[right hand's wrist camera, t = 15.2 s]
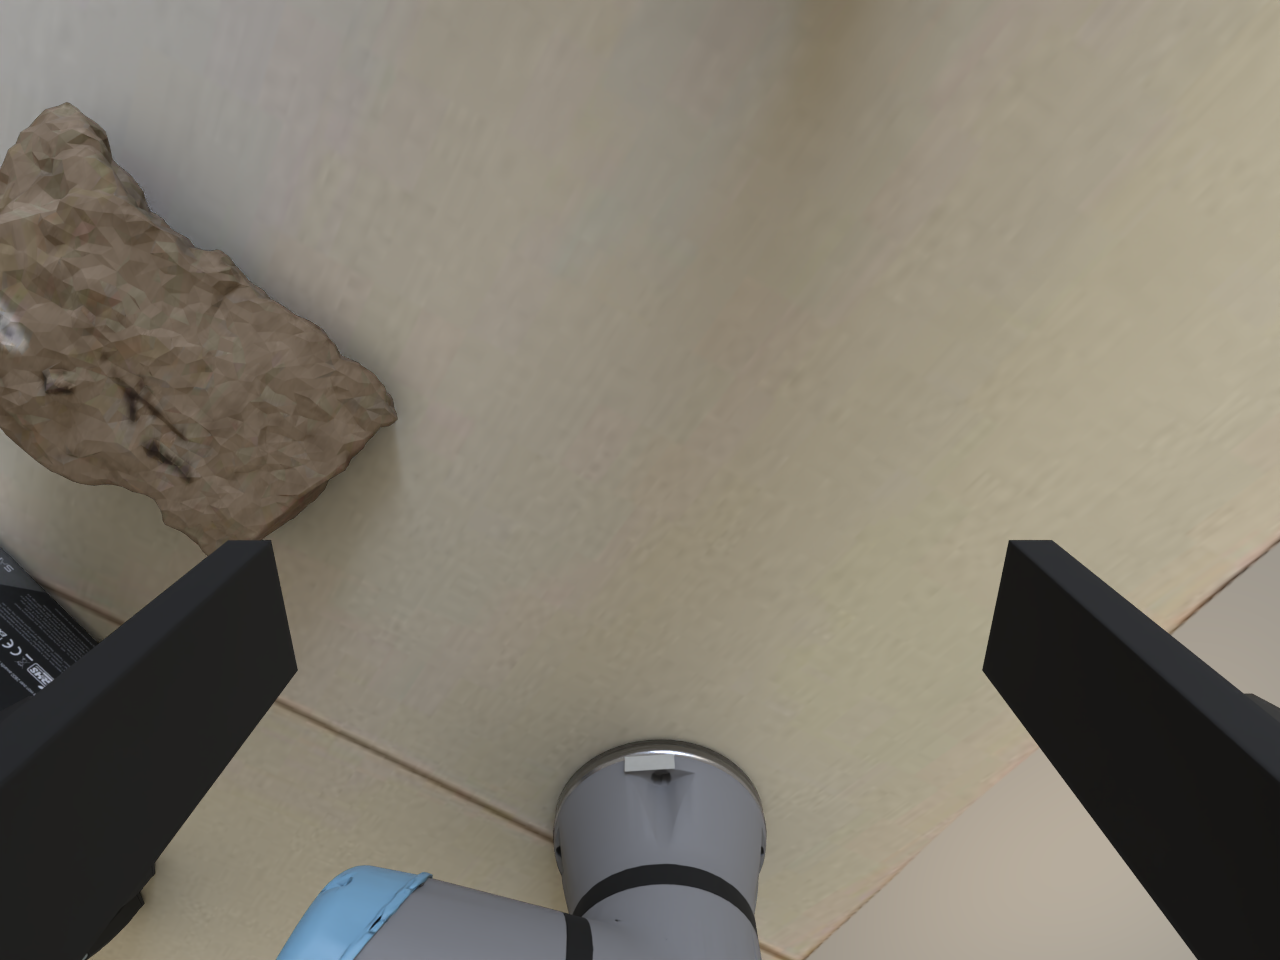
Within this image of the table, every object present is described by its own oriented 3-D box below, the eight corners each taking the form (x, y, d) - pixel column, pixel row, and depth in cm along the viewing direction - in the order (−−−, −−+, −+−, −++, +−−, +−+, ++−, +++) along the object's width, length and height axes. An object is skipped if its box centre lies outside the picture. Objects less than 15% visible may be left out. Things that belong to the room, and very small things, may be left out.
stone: (-116, 315, 36) (-214, 328, 30) (82, 101, 35) (20, 76, 30) (252, 557, 45) (228, 602, 39) (415, 388, 44) (413, 410, 39)
